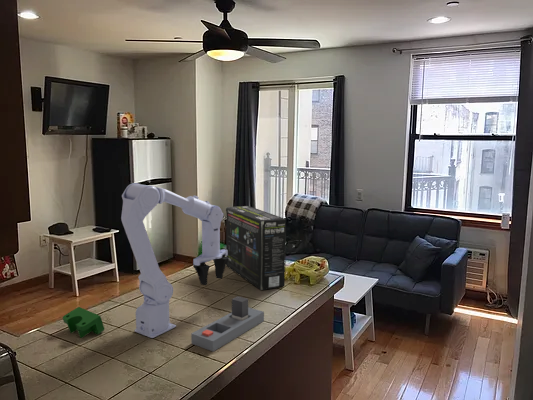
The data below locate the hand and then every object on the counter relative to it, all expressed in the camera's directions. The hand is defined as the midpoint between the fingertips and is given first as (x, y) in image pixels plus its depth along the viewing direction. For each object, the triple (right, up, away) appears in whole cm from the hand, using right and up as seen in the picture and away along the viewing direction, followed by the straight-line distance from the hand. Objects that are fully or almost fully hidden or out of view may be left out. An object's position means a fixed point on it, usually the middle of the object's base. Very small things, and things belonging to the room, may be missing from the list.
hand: (211, 281), depth 145 cm
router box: (+13, -5, +37) cm, 39 cm away
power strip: (+7, -12, -14) cm, 20 cm away
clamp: (-36, -13, -15) cm, 41 cm away
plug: (+10, -11, -10) cm, 18 cm away
